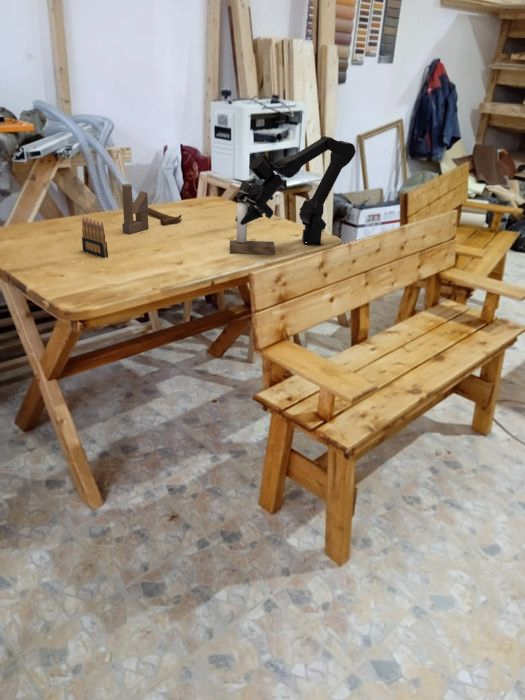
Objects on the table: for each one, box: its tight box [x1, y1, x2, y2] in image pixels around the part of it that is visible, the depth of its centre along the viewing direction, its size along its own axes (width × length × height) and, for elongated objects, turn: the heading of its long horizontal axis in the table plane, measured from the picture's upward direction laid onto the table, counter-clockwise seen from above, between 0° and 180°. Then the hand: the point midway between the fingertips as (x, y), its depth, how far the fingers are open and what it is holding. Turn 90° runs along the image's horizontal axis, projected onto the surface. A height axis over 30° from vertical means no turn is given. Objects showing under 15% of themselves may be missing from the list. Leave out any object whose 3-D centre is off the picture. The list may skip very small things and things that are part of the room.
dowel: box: [235, 202, 248, 242], centre depth 198 cm, size 4×4×13 cm
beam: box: [229, 239, 276, 256], centre depth 202 cm, size 16×6×3 cm, turn 94°
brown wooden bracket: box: [121, 183, 149, 235], centre depth 213 cm, size 4×11×18 cm, turn 147°
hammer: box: [133, 201, 182, 227], centre depth 238 cm, size 12×3×30 cm
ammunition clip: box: [81, 216, 109, 259], centre depth 188 cm, size 11×2×12 cm, turn 56°
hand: (238, 222), depth 197 cm, fingers closed on dowel, 3 cm apart
